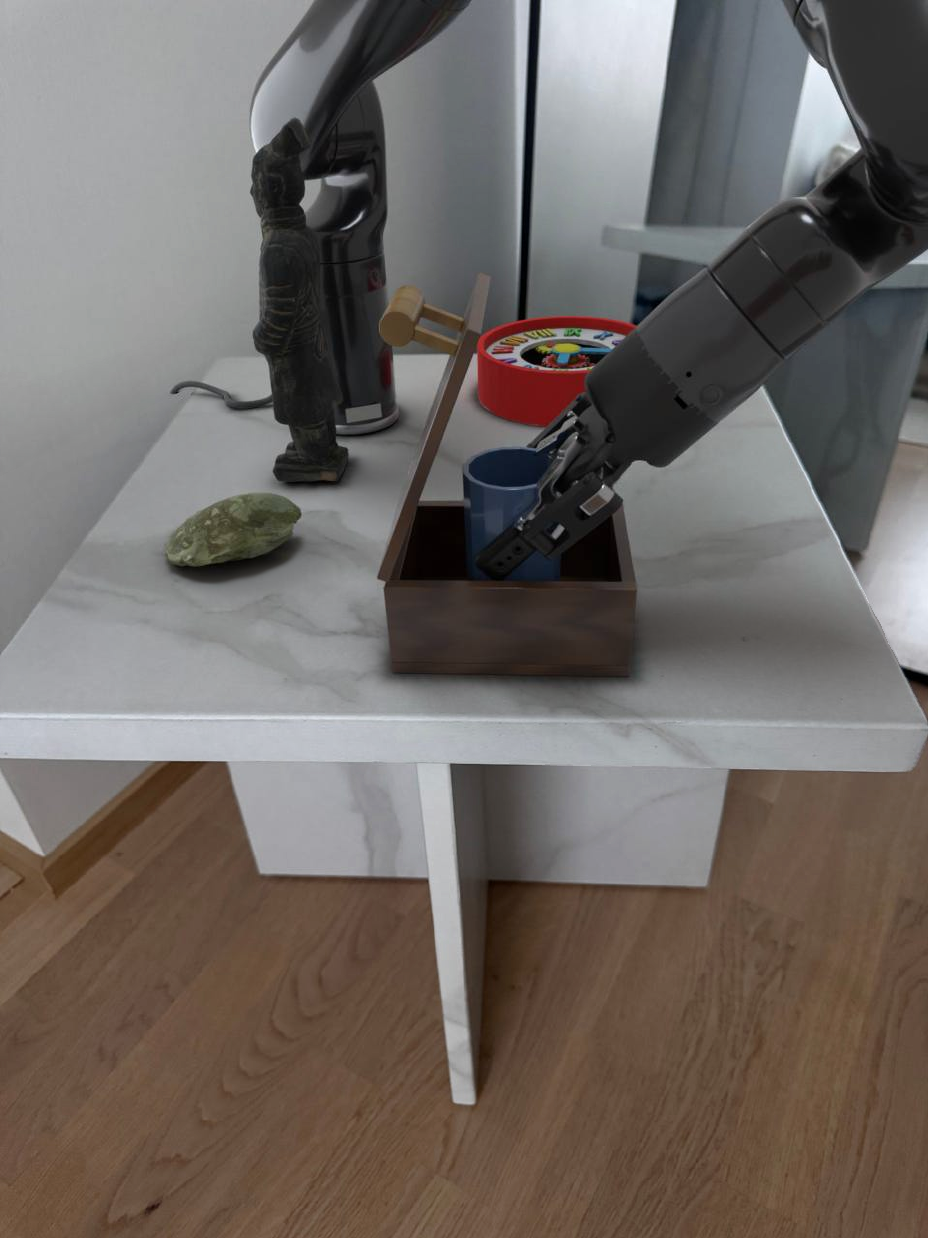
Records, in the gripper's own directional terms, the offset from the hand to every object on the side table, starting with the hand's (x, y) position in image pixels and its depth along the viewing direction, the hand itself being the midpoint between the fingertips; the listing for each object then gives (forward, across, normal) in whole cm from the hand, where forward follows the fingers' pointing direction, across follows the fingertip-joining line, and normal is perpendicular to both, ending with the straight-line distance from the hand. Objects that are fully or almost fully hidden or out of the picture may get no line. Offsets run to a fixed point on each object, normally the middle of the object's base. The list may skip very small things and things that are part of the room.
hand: (488, 543), depth 59 cm
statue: (+18, -25, -8) cm, 32 cm away
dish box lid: (-4, 0, -8) cm, 9 cm away
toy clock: (0, -46, +9) cm, 47 cm away
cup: (+2, 0, +4) cm, 5 cm away
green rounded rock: (+20, -11, -11) cm, 25 cm away
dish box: (+4, 0, +6) cm, 7 cm away
